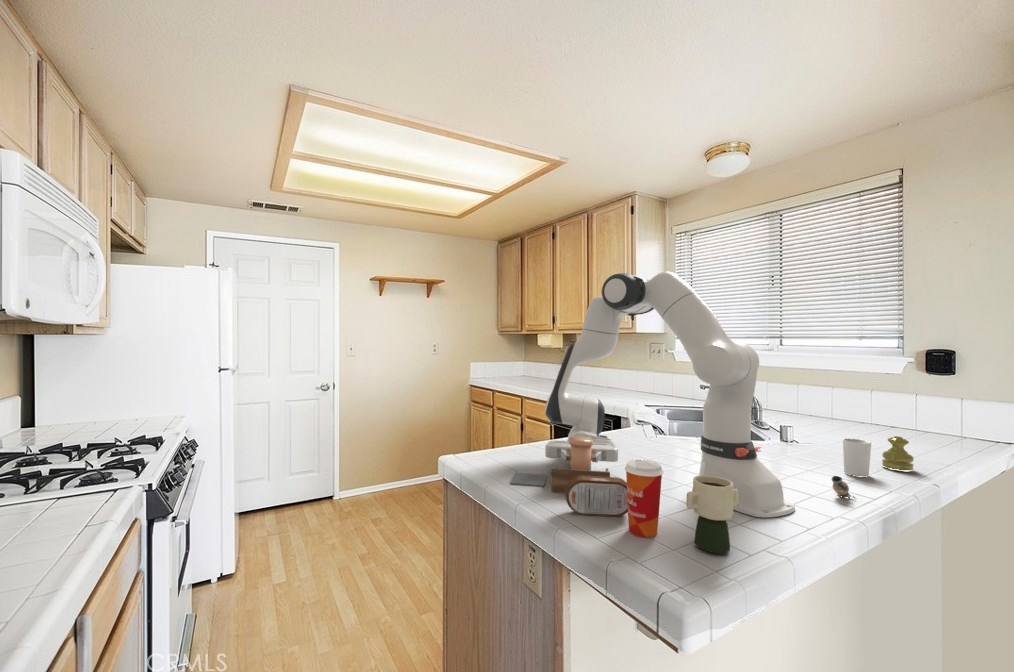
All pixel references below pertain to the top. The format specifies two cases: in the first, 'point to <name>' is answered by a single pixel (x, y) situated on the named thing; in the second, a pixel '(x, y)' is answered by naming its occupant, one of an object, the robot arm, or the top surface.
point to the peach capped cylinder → (580, 453)
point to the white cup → (856, 456)
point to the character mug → (712, 511)
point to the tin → (597, 496)
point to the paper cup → (643, 496)
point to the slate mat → (529, 479)
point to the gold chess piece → (897, 455)
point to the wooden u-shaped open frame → (570, 477)
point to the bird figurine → (840, 487)
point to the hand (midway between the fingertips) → (580, 458)
